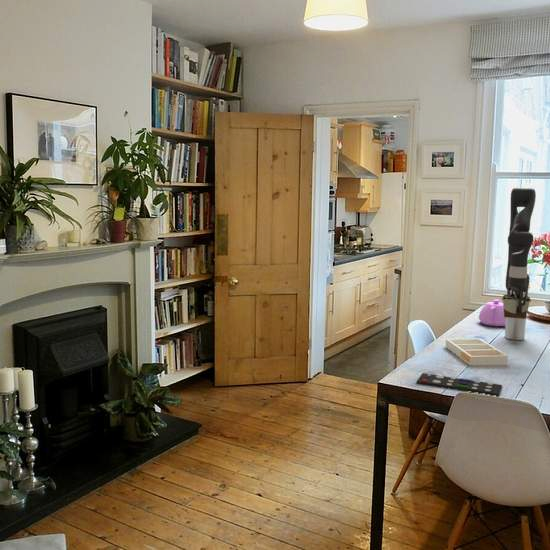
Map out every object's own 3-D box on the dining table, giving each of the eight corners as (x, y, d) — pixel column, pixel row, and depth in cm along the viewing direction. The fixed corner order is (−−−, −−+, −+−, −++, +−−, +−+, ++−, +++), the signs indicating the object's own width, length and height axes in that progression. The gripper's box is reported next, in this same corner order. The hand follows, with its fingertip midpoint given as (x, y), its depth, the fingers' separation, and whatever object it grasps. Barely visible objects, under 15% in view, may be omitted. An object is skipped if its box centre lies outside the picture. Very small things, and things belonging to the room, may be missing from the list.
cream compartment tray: (445, 347, 285) (445, 338, 284) (479, 346, 286) (479, 338, 286) (469, 365, 257) (469, 356, 256) (507, 364, 258) (508, 355, 257)
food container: (529, 316, 275) (530, 295, 273) (529, 319, 269) (531, 297, 268) (500, 314, 279) (502, 293, 278) (500, 317, 274) (501, 295, 272)
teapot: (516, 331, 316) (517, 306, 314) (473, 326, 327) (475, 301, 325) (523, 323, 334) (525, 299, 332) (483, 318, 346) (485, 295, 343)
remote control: (422, 376, 243) (422, 371, 243) (501, 388, 230) (502, 383, 230) (416, 385, 233) (416, 380, 233) (498, 398, 220) (499, 392, 220)
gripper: (533, 278, 264) (531, 315, 266) (518, 273, 278) (515, 308, 280) (517, 278, 263) (514, 316, 266) (502, 273, 277) (500, 308, 280)
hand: (515, 312), depth 273 cm, fingers closed on food container, 6 cm apart
